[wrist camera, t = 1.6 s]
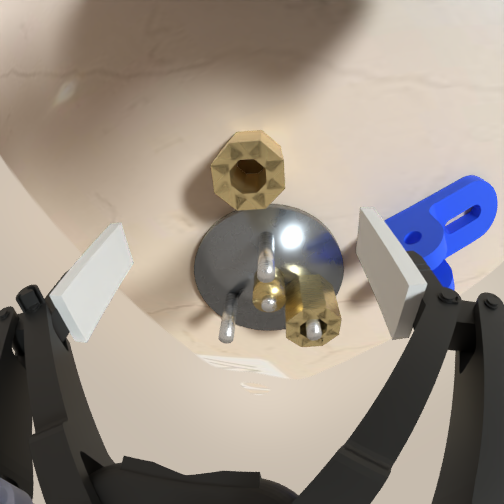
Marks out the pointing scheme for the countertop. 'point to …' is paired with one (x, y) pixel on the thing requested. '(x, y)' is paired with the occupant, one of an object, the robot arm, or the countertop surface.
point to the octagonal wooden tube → (249, 185)
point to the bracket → (437, 215)
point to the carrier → (272, 274)
